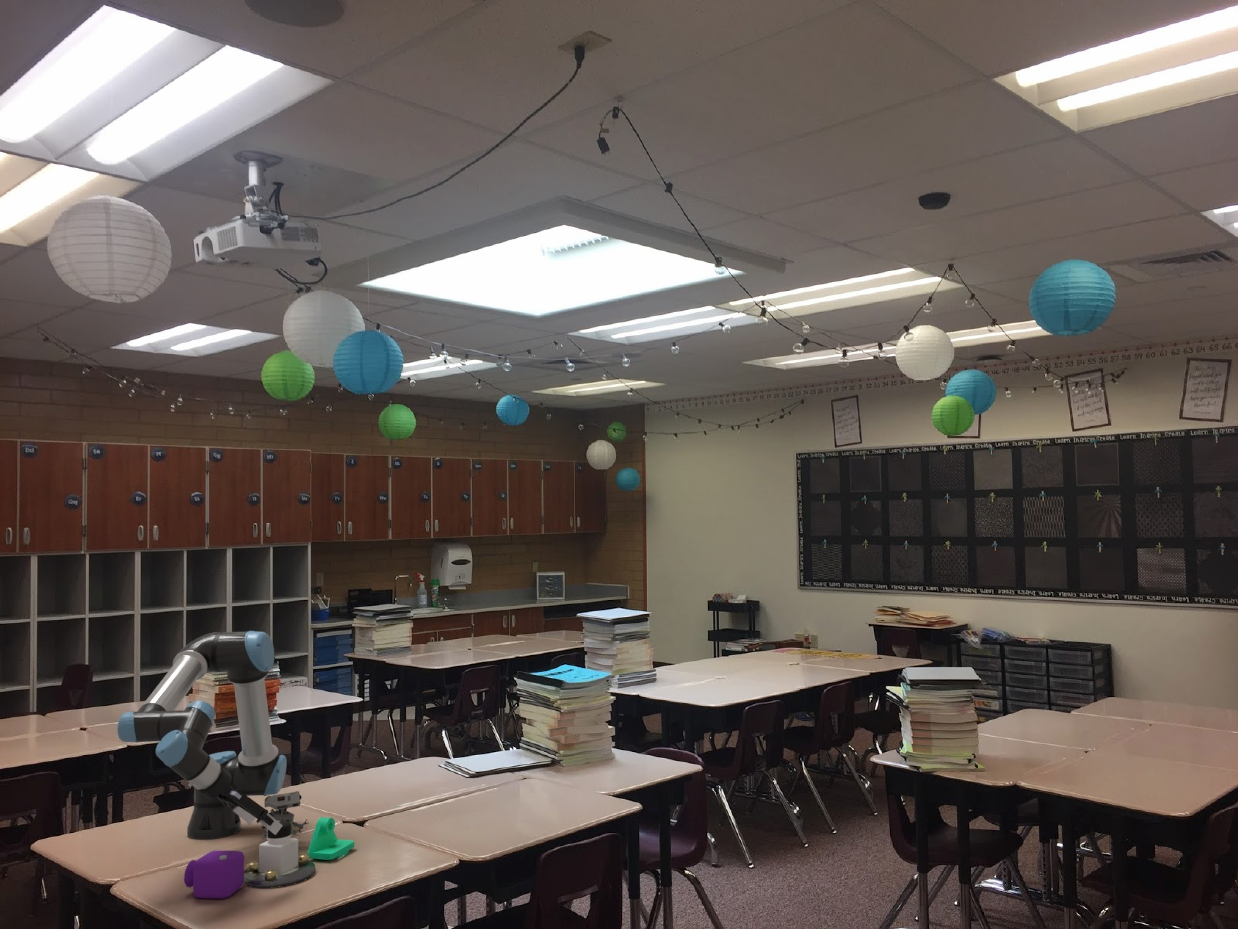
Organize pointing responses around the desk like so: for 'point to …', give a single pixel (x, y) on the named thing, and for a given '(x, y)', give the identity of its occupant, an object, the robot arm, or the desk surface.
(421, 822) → the desk surface
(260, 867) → the medicine bottle
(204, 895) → the toy camera
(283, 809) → the figurine
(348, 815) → the desk surface
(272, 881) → the plate
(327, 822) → the camera mount
